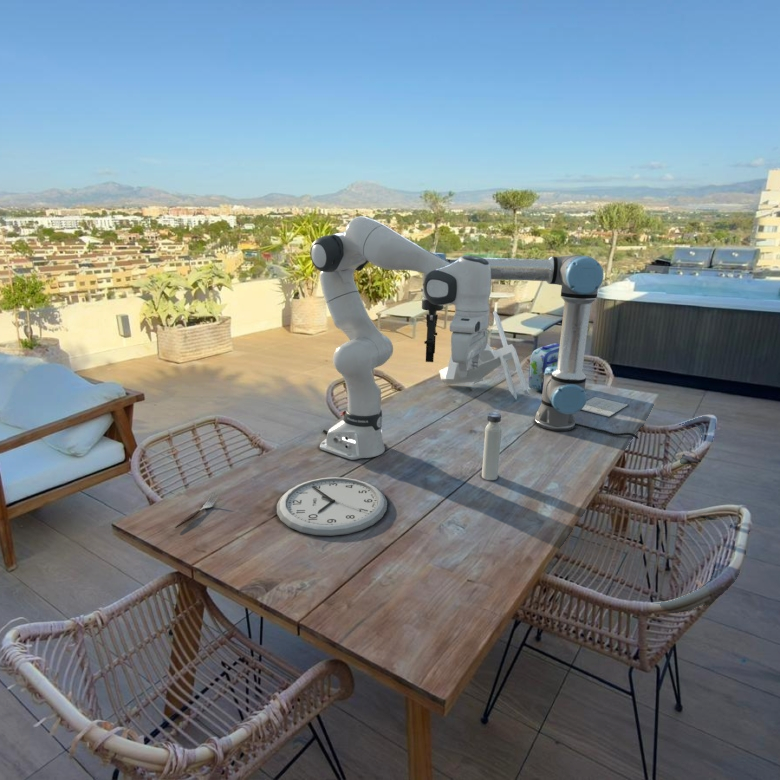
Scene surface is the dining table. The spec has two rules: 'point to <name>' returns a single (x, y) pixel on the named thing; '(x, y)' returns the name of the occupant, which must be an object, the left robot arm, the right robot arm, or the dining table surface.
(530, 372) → the lunch box
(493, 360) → the white plastic object
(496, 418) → the cap
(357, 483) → the wall clock
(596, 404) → the invitation card
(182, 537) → the dining table surface
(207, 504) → the fork
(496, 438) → the bottle
